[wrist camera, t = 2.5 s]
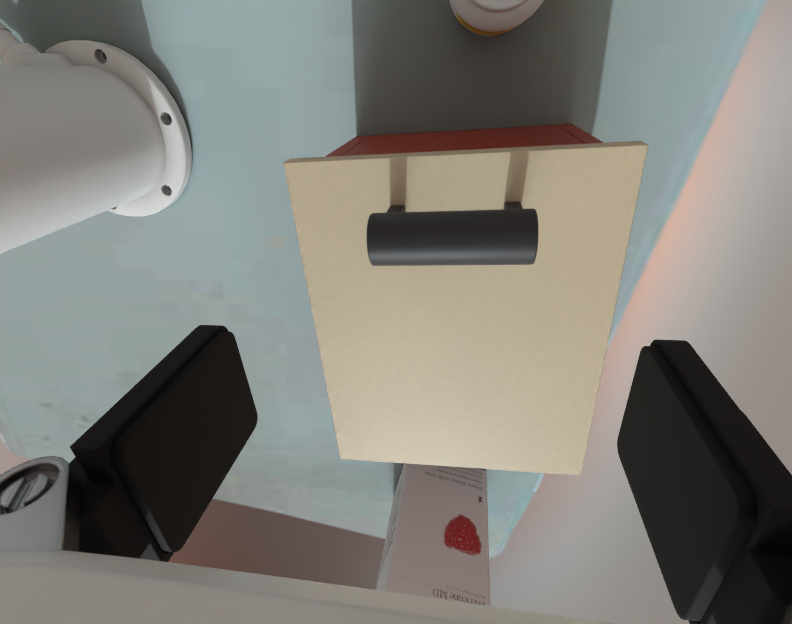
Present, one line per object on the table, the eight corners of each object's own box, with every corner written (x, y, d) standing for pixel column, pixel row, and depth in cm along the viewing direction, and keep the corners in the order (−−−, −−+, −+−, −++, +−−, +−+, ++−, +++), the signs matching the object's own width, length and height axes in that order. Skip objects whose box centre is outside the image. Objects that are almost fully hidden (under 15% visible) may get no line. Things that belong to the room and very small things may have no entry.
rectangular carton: (489, 468, 46) (496, 623, 34) (465, 517, 51) (463, 669, 38) (407, 446, 47) (384, 592, 34) (391, 497, 51) (364, 642, 38)
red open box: (356, 136, 31) (293, 176, 20) (572, 123, 29) (636, 161, 18) (378, 341, 40) (344, 448, 29) (546, 345, 38) (577, 463, 27)
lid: (290, 158, 20) (235, 187, 15) (640, 140, 17) (703, 168, 13) (343, 448, 29) (320, 521, 24) (578, 463, 27) (600, 547, 22)
